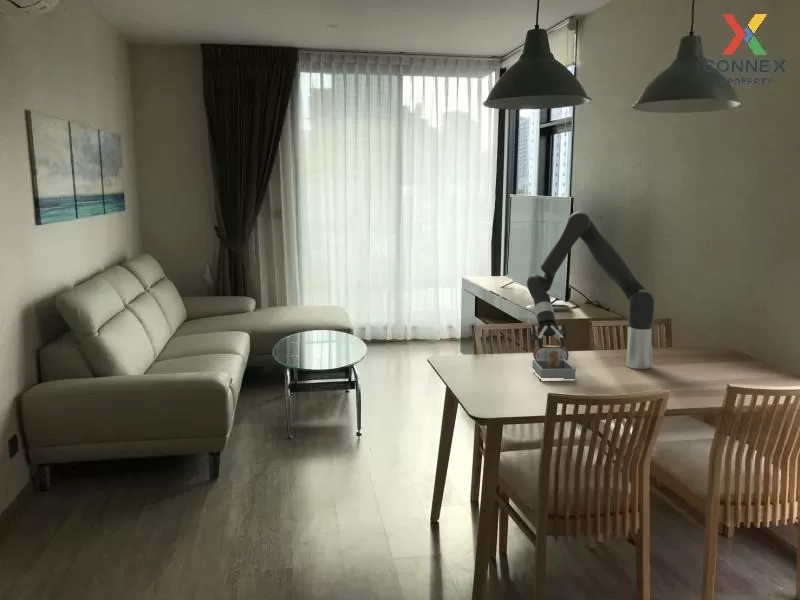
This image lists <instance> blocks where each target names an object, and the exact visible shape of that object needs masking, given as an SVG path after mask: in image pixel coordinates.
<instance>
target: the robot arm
mask: <svg viewBox="0 0 800 600" xmlns="http://www.w3.org/2000/svg"><path fill="white" fill-rule="evenodd" d="M579 239H581V240H582V241H583V243H584V244H585V245H586V246H587V248H588V250H589V251H590V254H591V256H592V257H593V259H594V261H595V263H597V264H598V266H599V267H600V269H601V270H602V271H603V272H604V273H605V275H607V276H608V277H609V278H610V280H611V281H613V282H614V283H615V284H616V285H617V286H618V287H619V288H620V290H621V291H622V292H623V293H624V295H625V297H626V298H627V300H628V301H629V320H628V328H627V329H628V331H627V347H626V348H627V349H626V367H628V368H630V369H636V370H646V369H651V368H652V356H653V345H652V344H651V343H652V327H653V321H654V312H655V311H654V308H655V299H654V297H653V295H652V293H651V292H650V291H648V289H646V287H644V285H642V284H641V283H640V282H639V281H638V279H637V278H636V277H635V276H634V275H633V273H632V271H631V270H630V268H629V266H628V265H627V263H626V262H625V260H624V259H623V257H622V256H621V255H620V254H619V252H618V251H617V250H616V249H615V247H613V245H612V244H611V243H610V242H609V241H608V240H607V239H606V238H605V237H604V236H603V235H602V234H601V232H600V231H599V230H598V229H597V227H596V226H595V224H594V223H593V221H592V219H591V218H590V216H589V214H587V213H586V212H584V211H582V210H581V211H575V212H573V213H571V214H570V216H569V217H568V219H567V223H566V226H565V227H564V230H563V231H562V233H561V236H560V237H559V239H558V241H557V242H556V243H555V245H554V246H553V247H552V249H551V250H550V251H549V253H548V254H547V256H546V257H545V259H544V261H543V263H542V264H541V265H540V270H541V271H542V272H543V273H544V275H543V276H541V275H539V274H536V273H533V274H531V275H529V276H528V278H527V281H526V287H527V290H528V292H529V294H530V295H531V298H532V300H533V302H534V311H535V317H536V321H537V326H535V325H534V324H532V325H531V328H530V332H531V333H530V334H531V340H532V341H536V344H537V346H538V347H540V349H542V347H543V345H544V344H543V341H542V338H543V337H554V338H555V339H557V340H558V343H559V344H558V345H560V348H563V347H565V341H564V340H567V337H568V333H567V330H566V327H565V324H561V325H557V322H556V316H555V311H554V308H553V305H552V300H551V297H550V295H549V293H548V292H549V291H550V289H551V288H552V286H553V282H554V278H555V276H556V274H557V272H558V271H559V269H560V268H561V265H562V264H563V263H564V261H565V260H566V257H567V256H568V254H569V252H570V251H571V249H572V248H573V246H574V245H575V243H576V242H577V241H578V240H579ZM537 331H538V332H539V334H538V335H537Z"/></svg>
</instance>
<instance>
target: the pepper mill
mask: <svg viewBox="0 0 800 600" xmlns="http://www.w3.org/2000/svg"><path fill="white" fill-rule="evenodd" d="M548 369H559V353H558V352H557V351H555V350H552V351H550V352H549V354H548Z"/></svg>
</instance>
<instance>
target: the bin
mask: <svg viewBox="0 0 800 600" xmlns="http://www.w3.org/2000/svg"><path fill="white" fill-rule="evenodd" d="M531 367H532V368H533V369H534V370H535V372H536V373H537V374H538V375H539V376H540V377H541V378H564V379H575V380H576V368H575V367H573V365H572V364H571V363H569V362H568V360H567V361H566V360H559V369H548V360H535V359H533V360H532V364H531ZM532 368H531V369H532Z"/></svg>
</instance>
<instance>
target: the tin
mask: <svg viewBox="0 0 800 600" xmlns="http://www.w3.org/2000/svg"><path fill="white" fill-rule="evenodd" d="M542 345H543V347H542V349H540V347H538V345H537V346H536V347H535V348H534V350H533V353H532V355H533V356H532V357H533V360H548V354H549V352H550V351H552V350H555V351H557V352H558V353H559V360H566V361H567V362H568V360H569V355H570V354H569V350H568V348H566V347H565V346H564V347H563V348H560V344H558V345H556V344H554V345H553V344H542Z"/></svg>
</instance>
